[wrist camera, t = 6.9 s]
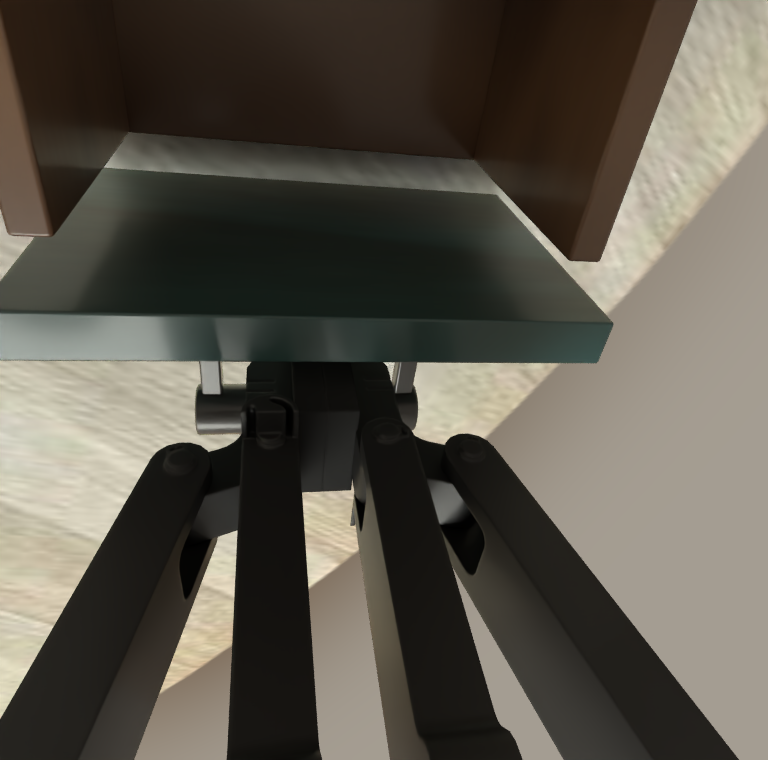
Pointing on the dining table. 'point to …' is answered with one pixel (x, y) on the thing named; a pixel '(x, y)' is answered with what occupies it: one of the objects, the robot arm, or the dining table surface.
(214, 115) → the drawer
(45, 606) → the dining table surface
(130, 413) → the dining table surface
